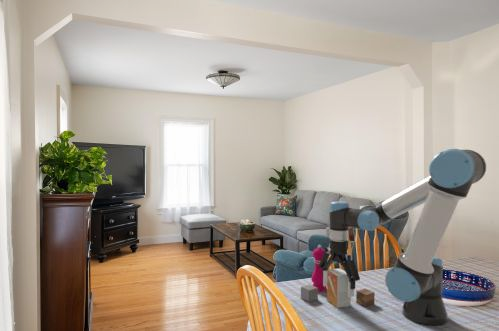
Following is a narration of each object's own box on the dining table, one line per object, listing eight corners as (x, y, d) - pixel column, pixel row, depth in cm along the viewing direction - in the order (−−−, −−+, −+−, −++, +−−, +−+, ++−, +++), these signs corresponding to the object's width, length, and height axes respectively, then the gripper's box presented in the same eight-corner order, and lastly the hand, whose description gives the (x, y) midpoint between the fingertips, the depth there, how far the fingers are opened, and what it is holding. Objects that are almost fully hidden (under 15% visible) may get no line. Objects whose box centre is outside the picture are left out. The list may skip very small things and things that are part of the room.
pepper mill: (326, 286, 167) (326, 243, 167) (328, 292, 160) (328, 247, 159) (310, 285, 168) (310, 243, 167) (312, 291, 161) (312, 246, 160)
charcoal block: (317, 299, 152) (317, 287, 152) (308, 302, 149) (308, 290, 149) (309, 295, 156) (309, 284, 156) (300, 298, 153) (300, 286, 153)
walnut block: (374, 304, 147) (374, 292, 146) (366, 307, 144) (366, 294, 144) (364, 300, 151) (364, 288, 151) (356, 302, 148) (356, 290, 148)
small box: (326, 300, 151) (326, 269, 150) (340, 298, 152) (340, 268, 152) (337, 308, 143) (337, 275, 143) (351, 306, 145) (351, 273, 144)
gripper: (369, 245, 139) (368, 299, 139) (323, 232, 160) (323, 280, 160) (356, 247, 135) (355, 303, 135) (311, 234, 156) (310, 283, 156)
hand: (338, 291), depth 148 cm, fingers open, 13 cm apart
